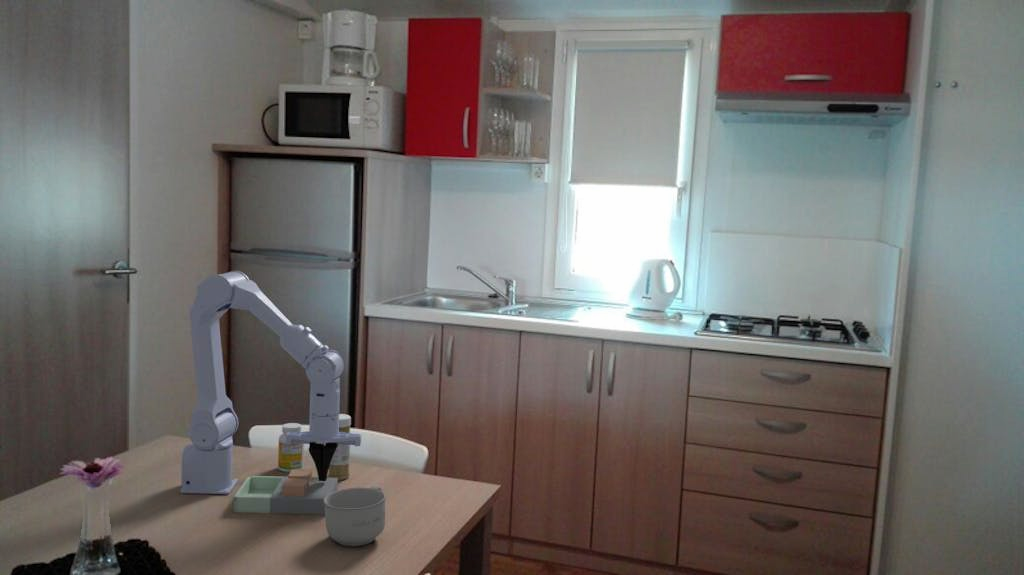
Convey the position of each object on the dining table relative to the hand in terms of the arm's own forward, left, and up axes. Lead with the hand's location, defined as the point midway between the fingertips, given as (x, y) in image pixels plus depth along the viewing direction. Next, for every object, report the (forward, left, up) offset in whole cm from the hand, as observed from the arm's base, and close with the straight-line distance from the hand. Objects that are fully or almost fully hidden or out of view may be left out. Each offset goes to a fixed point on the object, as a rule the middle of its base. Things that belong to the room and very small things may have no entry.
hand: (322, 479), depth 170 cm
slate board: (-3, -3, -4) cm, 6 cm away
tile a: (-4, 0, -1) cm, 5 cm away
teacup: (+10, -19, -4) cm, 21 cm away
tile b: (-4, -5, -1) cm, 7 cm away
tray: (-12, -3, -4) cm, 13 cm away
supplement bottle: (-9, +17, -4) cm, 20 cm away
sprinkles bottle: (+2, +12, -4) cm, 13 cm away
